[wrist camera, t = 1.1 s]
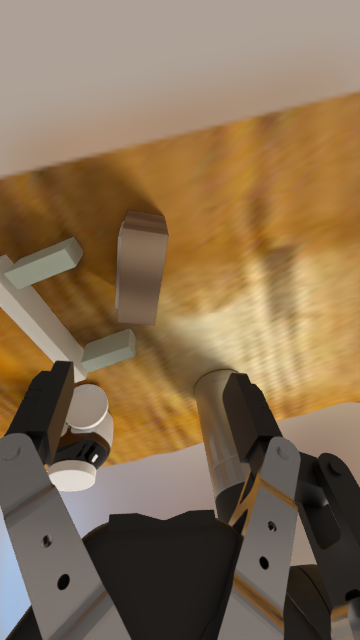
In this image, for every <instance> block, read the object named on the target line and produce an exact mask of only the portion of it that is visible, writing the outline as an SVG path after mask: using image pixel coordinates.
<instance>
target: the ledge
mask: <svg viewBox="0 0 360 640" xmlns="http://www.w3.org/2000/svg"><path fill="white" fill-rule="evenodd" d="M83 254H84V252H83V250H82V248H81V247H80V245H79V243H78V242H77V240H76V239H75V237H72V238H69V239H67V240H64V241H62V242H59V243H57V244H55V245H52V246H50V247H47V248H45V249H42V250H40V251H38V252H35V253H33V254H30V255H28V256H25V257H23V258H21V259H19V260H18V261H17V262H16V263H15V264H14V263H13V262H12V261H11V260H10V258H9V257H8V256H7V255H6V254H5V255H3V256H0V307H1V308H2V309H3V310H4V311H5V312H6V313H7V314H8V315H9V316H10V317H11V318H12V319H13V320H14V321H15V323H16V324H17V325H18V326H19V327H20V328H21V329H22V330H23V331H24V332H25V333H26V334H27V335H28V336H29V337H30V338H31V339H32V340H33V341H34V342H35V343H36V345H37V346H38V347H39V348H40V349H41V350H42V351H43V352H44V353H45V354H46V355H47V356H48V357H49V358H50V359H51V360H52V361H53V362H54V363H55V361H56V360H59V361H73V363H74V382H75V383H76V382H79V381H82V380H85V379H86V378H87V374H88V372H92V371H95V370H98V369H100V368H103V367H106V366H109V365H112V364H115V363H118V362H121V361H124V360H127V359H130V358H133V357H135V350H136V337H135V335H134V333H133V332H132V330H131V329H130V328H129V329H126V330H123V331H120V332H118V333H115V334H112V335H109V336H106V337H104V338H101V339H98V340H95V341H92V342H89V343H87V344H86V347H85V350H83V348H82V347H81V346H80V345H79V343H78V342H77V341H76V340H75V339H74V337H73V336H72V335H71V334H70V332H69V331H68V330H67V329H66V327H65V326H64V325H63V324H62V323H61V321H60V320H59V319H58V318H57V316H56V315H55V314H54V313H53V311H52V310H51V309H50V308H49V307H48V305H47V304H46V303H45V302H44V300H43V299H42V298H41V297H40V295H39V294H38V293H37V292H36V291H35V289H34V288H33V287H32V286H31V284H33V283H36V282H39V281H41V280H44V279H46V278H49V277H51V276H54V275H56V274H59V273H61V272H64V271H66V270H69V269H71V268H74V267H76V266H77V264H78V262H79V261H80V259H81V257H82V255H83Z"/></svg>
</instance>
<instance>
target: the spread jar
mask: <svg viewBox="0 0 360 640" xmlns="http://www.w3.org/2000/svg"><path fill="white" fill-rule="evenodd" d="M113 430H114V423H113V418H112V416H111V414H110V412H109V411H108V399H107V396H106V394H105V392H104V391H103V390H102V389H101V388H100V387H98V386H96V385H92V384H84V385H80V386H78V387H76V388H74V392H73V397H72V400H71V403H70V407H69V410H68V413H67V417H66V420H65V423H64V427H63V430H62V433H61V437H60V440H59V444H58V447H57V450H56V454H55V457H54V460H53V464H46V465H47V466H48V468H49V469H48V472H47V474H48V476H49V478H50V480H51V482H52V484H54V485H55V486H56V488H57V490H60V491H80V490H84V489H87V488H89V487H90V486H92V485H93V484H94V482H95V477H96V470H97V469H98V468H99V467H100V466H101V465H102V464H103V463H104V462H105V461H106V459H107V458H108V456H109V454H110V451H111V446H112V439H113Z"/></svg>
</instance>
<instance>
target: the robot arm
mask: <svg viewBox="0 0 360 640" xmlns="http://www.w3.org/2000/svg"><path fill="white" fill-rule="evenodd" d="M74 384H75V382H74V363H73V361H59V360H56V361H55V363H54V365H53V368H52V370H51V371H41V372H40V373H39V374H38V375H37V376H36V377H35V378H34V379H33V380H32V382H31V384H30V386H29V388H28V391H27V392H26V394H25V396H24V400H22V402H21V404H20V407H19V409H18V411H17V413H16V415H15V417H14V419H13V421H12V423H11V425H10V427H9V429H8V431H7V433H6V434H5V435H4V437H2V438H1V439H0V506H1V509H2V512H3V516H4V520H5V524H6V528H7V531H8V534H9V537H10V540H11V543H12V546H13V549H14V552H15V555H16V559H17V562H18V564H19V568H20V571H21V574H22V577H23V580H24V583H25V586H26V589H27V592H28V596H29V598H30V602H31V606H30V607H29V609H28V610H27V611H26V612H25V614H24V615H23V617H22V618H21V619H20V621H19V622H18V623H17V625H16V626H15V627H14V629H13V630H12V632H11V633H10V634H9V635H8V637H7V638H6V639H5V640H360V487H359V486H358V484H357V482H356V480H355V479H354V477H353V475H352V473H351V472H350V470H349V468H348V467H347V465H346V464H345V463H344V462H343V461H342V460H341V459H340V458H338V457H337V456H335V455H333V454H330V453H322V454H321V455H320V456H319V457H318V458H316V457H314V456H311V455H308V454H305V453H302V452H299V451H298V450H297V448H296V447H295V446H294V444H293V443H291V442H290V441H289V440H287V439H285V438H283V436H282V434H281V431H280V429H279V427H278V425H277V423H276V421H275V419H274V416H273V414H272V412H271V410H270V409H269V406H268V403H267V402H266V399H265V397H264V395H263V393H262V391H261V390H260V389H259V388H258V387H257V386H256V384H251V382H250V380H249V377H248V375H247V374H245V373H237V372H235V371H231V370H218V371H214V372H211V373H209V374H207V375H205V376H203V377H202V378H201V379H200V380H199V381H198V382H197V384H196V386H195V397H196V402H197V407H198V413H199V419H200V424H201V429H202V435H203V440H204V445H205V451H206V456H207V461H208V466H209V472H210V477H211V482H212V487H213V493H214V498H215V503H216V509H217V514H218V518H215V514H214V510H196V511H188V512H185V513H183V514H180V515H178V516H175V517H173V518H170V519H168V520H159V519H156V518H152V517H149V516H145V515H141V514H138V513H132V514H110V515H109V522H108V523H105V524H102V525H100V526H98V527H97V528H95V529H93V530H92V531H91V532H89V533H88V534H87V535H85V536H84V537H83V538H82V539H81V538H80V535H79V533H78V531H77V529H76V527H75V525H74V523H73V521H72V519H71V517H70V515H69V512H68V510H67V508H66V506H65V504H64V502H63V500H62V498H61V496H60V494H59V492H58V490H57V488H56V486H55V485H54V484H52V482H51V480H50V478H49V476H48V474H47V472H46V470H45V467H44V465H45V464H53V460H54V457H55V454H56V450H57V447H58V444H59V440H60V437H61V433H62V430H63V427H64V423H65V420H66V417H67V413H68V410H69V407H70V403H71V400H72V397H73V392H74ZM294 502H295V503H294ZM328 503H329V504H328ZM332 512H333V513H332ZM298 513H299V516H300V518H301V521H302V524H303V526H304V529H305V532H306V535H307V537H308V540H309V543H310V545H311V548H312V551H313V554H314V557H315V559H316V562H317V565H314V564H310V565H298V566H290V562H291V555H292V548H293V542H294V535H295V529H296V522H297V515H298ZM333 514H334V515H333ZM337 523H338V524H337ZM338 525H339V526H338Z"/></svg>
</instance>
